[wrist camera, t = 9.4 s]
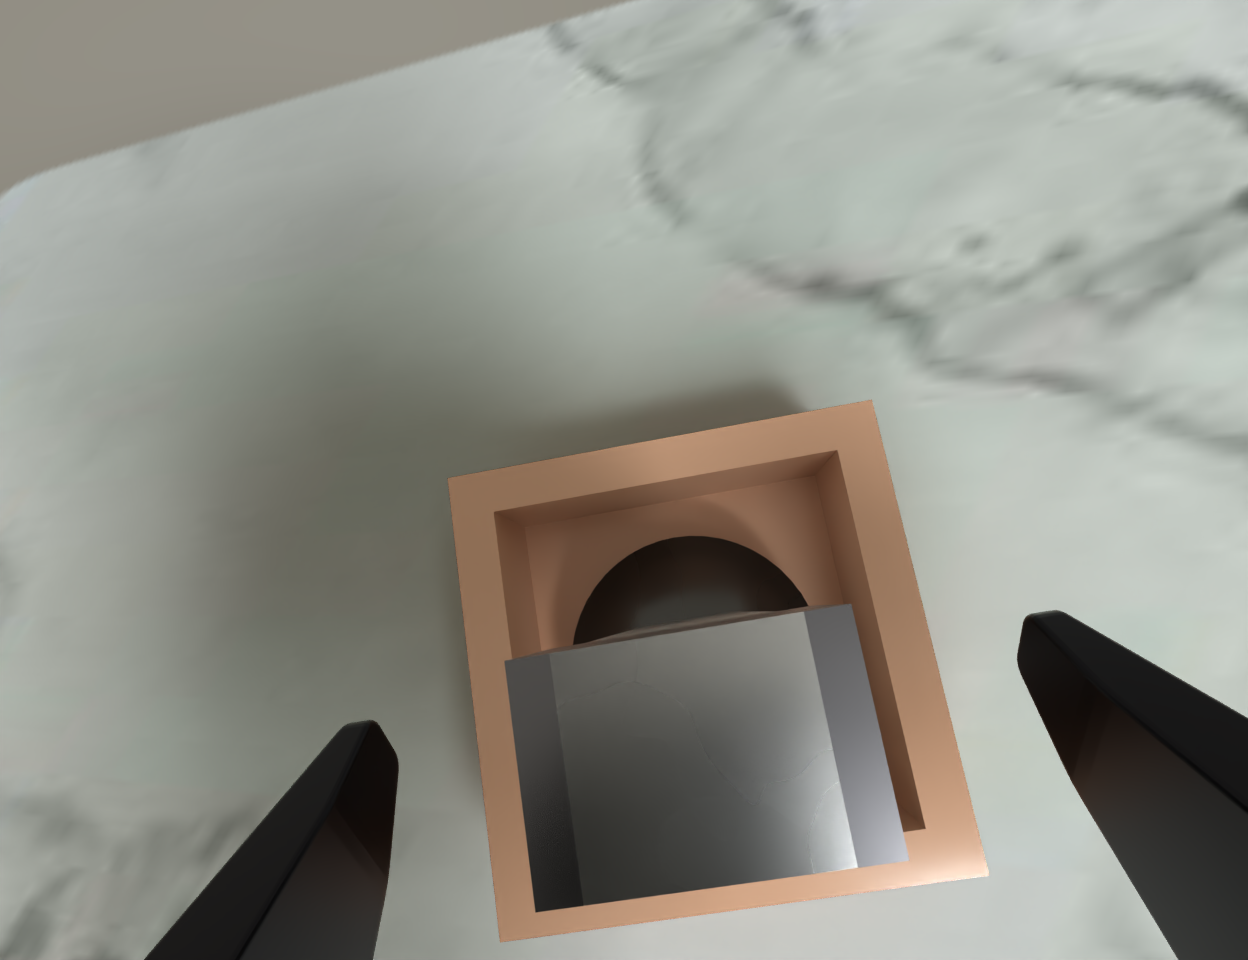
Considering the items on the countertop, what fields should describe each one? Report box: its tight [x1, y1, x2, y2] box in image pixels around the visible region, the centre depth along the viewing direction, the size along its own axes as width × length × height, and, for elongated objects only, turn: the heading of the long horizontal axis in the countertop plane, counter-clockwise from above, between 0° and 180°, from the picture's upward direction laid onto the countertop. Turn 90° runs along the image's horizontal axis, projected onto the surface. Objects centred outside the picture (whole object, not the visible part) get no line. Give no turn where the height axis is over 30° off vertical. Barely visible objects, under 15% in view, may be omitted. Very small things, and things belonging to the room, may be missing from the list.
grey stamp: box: [504, 536, 910, 913], centre depth 12 cm, size 6×6×12 cm
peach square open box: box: [448, 400, 989, 942], centre depth 17 cm, size 10×10×4 cm
